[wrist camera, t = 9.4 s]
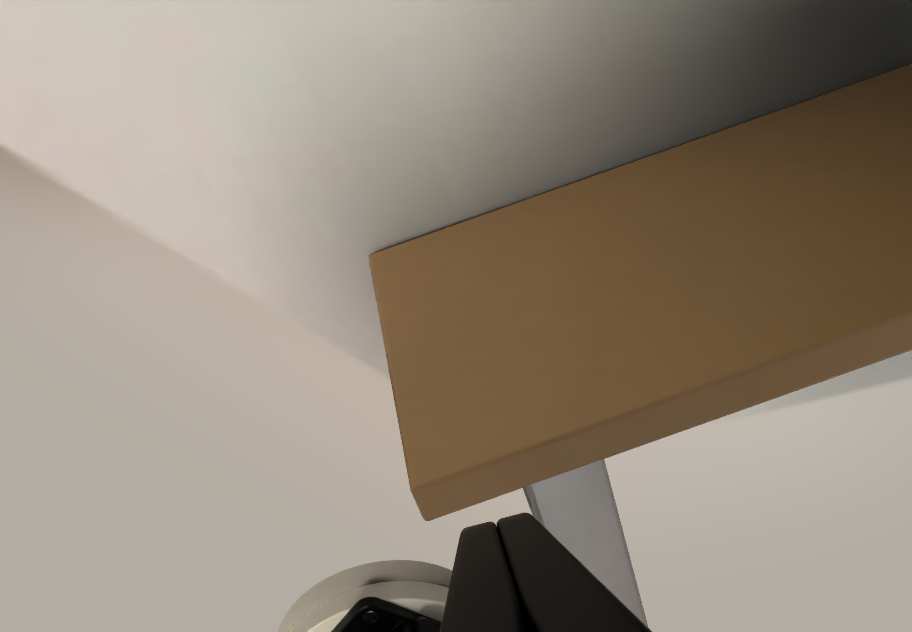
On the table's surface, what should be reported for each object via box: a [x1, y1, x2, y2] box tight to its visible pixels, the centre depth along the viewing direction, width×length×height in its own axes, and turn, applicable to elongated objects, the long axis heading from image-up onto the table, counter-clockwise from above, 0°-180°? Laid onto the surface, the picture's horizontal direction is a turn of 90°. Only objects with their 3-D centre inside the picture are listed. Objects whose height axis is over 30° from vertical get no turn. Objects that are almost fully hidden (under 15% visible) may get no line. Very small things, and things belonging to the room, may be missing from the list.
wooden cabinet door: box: [369, 64, 912, 627], centre depth 18 cm, size 6×17×9 cm, turn 107°
